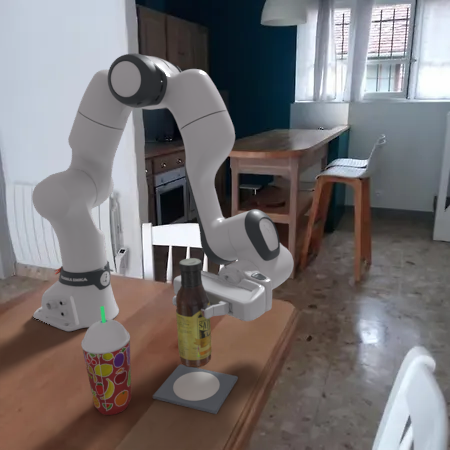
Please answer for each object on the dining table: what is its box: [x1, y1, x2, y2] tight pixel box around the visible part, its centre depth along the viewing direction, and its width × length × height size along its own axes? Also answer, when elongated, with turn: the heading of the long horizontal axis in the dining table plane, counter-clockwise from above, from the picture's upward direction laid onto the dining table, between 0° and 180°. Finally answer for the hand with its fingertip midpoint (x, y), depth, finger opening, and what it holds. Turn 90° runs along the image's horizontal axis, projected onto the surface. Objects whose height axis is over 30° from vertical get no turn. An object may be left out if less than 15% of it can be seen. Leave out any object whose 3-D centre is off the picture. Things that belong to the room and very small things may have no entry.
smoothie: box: [80, 306, 132, 416], centre depth 80 cm, size 8×8×20 cm
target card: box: [152, 363, 239, 415], centre depth 86 cm, size 13×11×1 cm
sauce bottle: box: [175, 257, 213, 368], centre depth 82 cm, size 7×6×20 cm
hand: (188, 308), depth 81 cm, fingers closed on sauce bottle, 6 cm apart
